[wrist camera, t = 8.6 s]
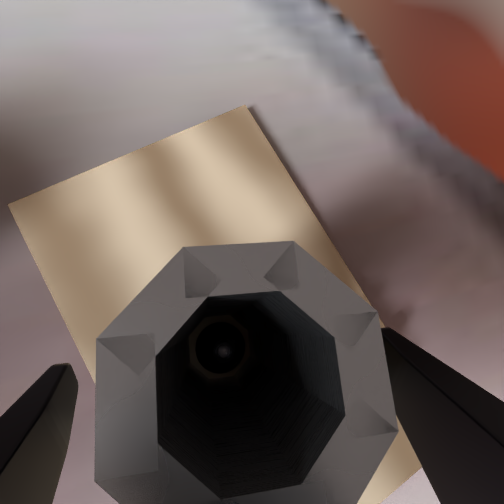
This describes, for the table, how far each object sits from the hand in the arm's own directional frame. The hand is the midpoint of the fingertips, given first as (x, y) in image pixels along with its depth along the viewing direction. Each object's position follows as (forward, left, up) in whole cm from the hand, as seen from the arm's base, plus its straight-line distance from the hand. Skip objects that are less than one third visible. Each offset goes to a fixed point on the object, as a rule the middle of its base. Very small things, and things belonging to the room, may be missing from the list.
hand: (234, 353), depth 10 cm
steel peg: (0, 0, -9) cm, 9 cm away
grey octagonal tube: (0, 0, -9) cm, 9 cm away
